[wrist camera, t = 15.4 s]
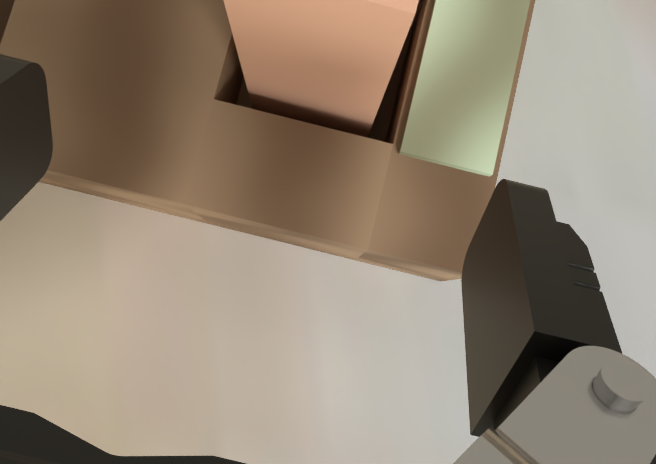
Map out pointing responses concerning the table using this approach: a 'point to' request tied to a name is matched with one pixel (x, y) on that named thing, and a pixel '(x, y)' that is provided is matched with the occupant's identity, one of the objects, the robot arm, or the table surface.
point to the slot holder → (278, 126)
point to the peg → (320, 56)
